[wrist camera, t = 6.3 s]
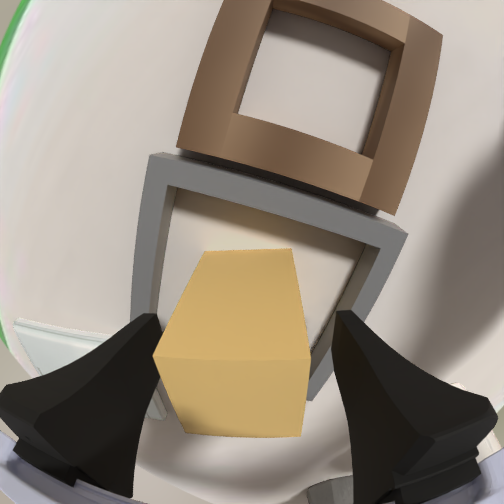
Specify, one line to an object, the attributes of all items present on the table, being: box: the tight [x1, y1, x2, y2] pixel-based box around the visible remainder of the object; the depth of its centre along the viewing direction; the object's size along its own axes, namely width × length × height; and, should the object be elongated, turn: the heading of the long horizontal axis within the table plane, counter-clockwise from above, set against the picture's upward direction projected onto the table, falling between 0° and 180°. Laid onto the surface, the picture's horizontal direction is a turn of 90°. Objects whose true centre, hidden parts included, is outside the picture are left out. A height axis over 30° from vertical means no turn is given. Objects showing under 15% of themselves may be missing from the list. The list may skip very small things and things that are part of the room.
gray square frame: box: [130, 152, 408, 401], centre depth 13 cm, size 11×11×2 cm
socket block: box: [176, 0, 443, 216], centre depth 9 cm, size 9×9×2 cm
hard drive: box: [13, 318, 167, 421], centre depth 17 cm, size 2×8×12 cm
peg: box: [153, 248, 311, 438], centre depth 10 cm, size 4×4×7 cm
